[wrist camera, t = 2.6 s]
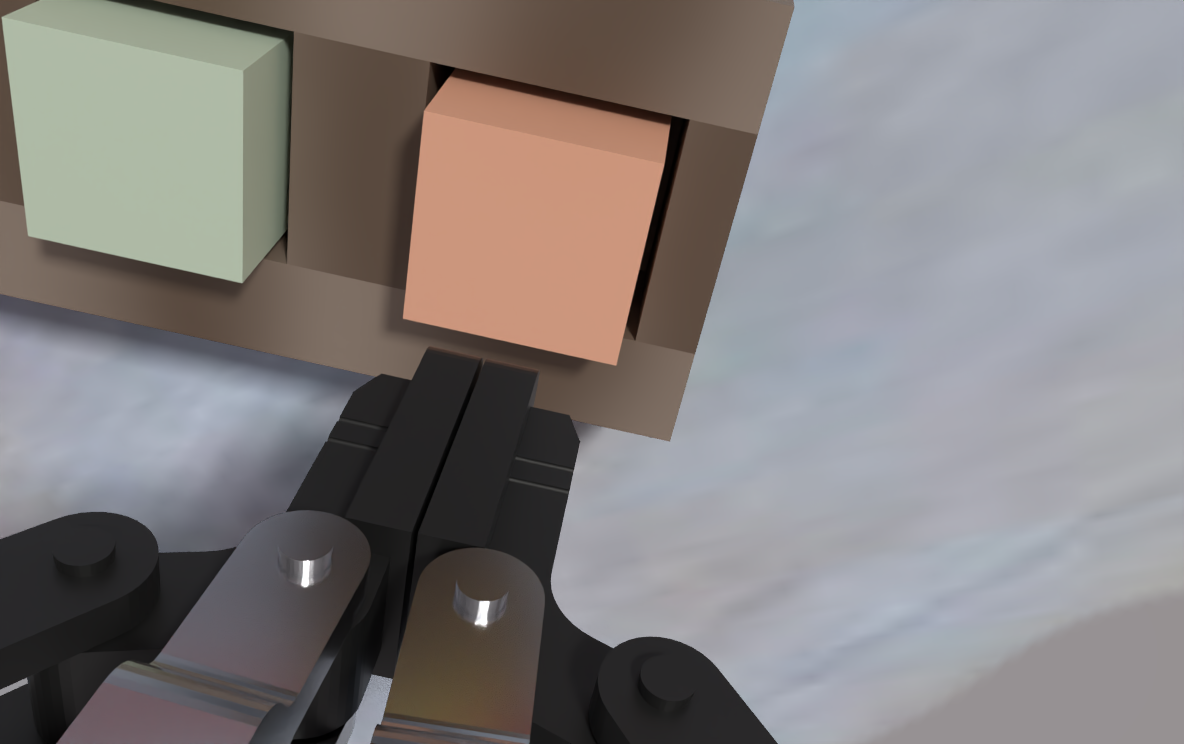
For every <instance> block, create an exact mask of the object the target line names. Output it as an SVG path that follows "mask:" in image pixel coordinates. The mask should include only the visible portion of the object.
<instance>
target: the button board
mask: <svg viewBox="0 0 1184 744" xmlns="http://www.w3.org/2000/svg"><path fill="white" fill-rule="evenodd" d="M37 1H39V0H0V294H3V295H7V296H12V297H16V298H21V299H25V300H30V301H34V302H39V303H43V304H48V305H53V306H57V307H62V308H66V309H71V310H75V311H80V312H84V313H89V314H93V315H98V316H103V317H107V318H112V319H116V320H121V321H125V322H130V323H134V324H139V325H143V326H148V327H152V328H157V329H162V330H166V331H171V332H175V333H180V334H184V335H189V336H193V337H198V338H202V339H207V340H212V341H216V342H221V343H225V344H230V345H234V346H239V347H243V348H248V349H252V350H257V351H261V352H266V353H271V354H275V355H280V356H284V357H289V358H293V359H298V360H302V361H307V362H311V363H316V364H321V365H325V366H330V367H334V368H339V369H343V370H348V371H352V372H357V373H361V374H366V375H370V376H375V377H377V376H378V375H380V374H381V373H382V374H386V375H391V376H395V377H400V378H404V379H409V380H412V378H413V376H414V374H415V372H416V370H417V368H418V366H419V364H420V362H421V359H422V357H423V355H424V353H425V351H426V349H427V348H428V347H429V346H433V347H437V348H442V349H446V350H451V351H455V352H460V353H464V354H469V355H473V356H478V357H482V358H483V365H484V362H485V360H486V359H492V360H496V361H501V362H505V363H510V364H514V365H519V366H523V367H528V368H532V369H537V370H540V373H539V380H538V385H537V391H536V396H535V401H534V406H533V407H535V408H540V409H544V410H549V411H553V412H558V413H562V414H567V415H570V418H571V420H575V421H579V422H584V423H589V424H593V425H598V426H602V427H607V428H611V429H616V430H620V431H625V432H629V433H634V434H638V435H643V436H648V437H652V438H657V439H661V440H666V441H670V439H671V436H672V432H673V429H674V425H675V422H676V418H677V415H678V411H679V408H680V404H681V401H682V397H683V394H684V390H685V387H686V383H687V380H688V376H689V373H690V369H691V366H692V362H693V359H694V355H695V352H696V348H697V345H698V341H699V338H700V334H701V331H702V327H703V324H704V320H705V317H706V313H707V310H708V306H709V303H710V300H711V296H712V293H713V289H714V286H715V282H716V279H717V275H718V272H719V268H720V265H721V261H722V258H723V254H724V251H725V247H726V244H727V240H728V237H729V233H730V230H731V226H732V223H733V219H734V216H735V212H736V209H737V205H738V202H739V198H740V195H741V191H742V188H743V184H744V181H745V177H746V174H747V170H748V167H749V163H750V160H751V156H752V153H753V149H754V146H755V142H756V139H757V135H758V132H759V128H760V125H761V121H762V118H763V115H764V111H765V108H766V104H767V101H768V97H769V94H770V90H771V87H772V83H773V80H774V76H775V73H776V69H777V66H778V62H779V59H780V55H781V52H782V48H783V45H784V41H785V38H786V34H787V31H788V27H789V24H790V20H791V17H792V13H793V10H794V2H793V0H154V1H159V2H163V3H168V4H172V5H177V6H181V7H186V8H190V9H195V10H199V11H204V12H208V13H213V14H217V15H222V16H226V17H231V18H235V19H240V20H244V21H249V22H253V23H258V24H262V25H267V26H271V27H276V28H280V29H285V30H289V31H294V49H293V82H292V116H291V149H290V182H289V216H288V229H287V230H286V232H285V233H284V234H283V235H282V236H281V238H280V239H279V240H278V241H277V242H276V244H275V245H274V246H273V247H272V248H271V250H270V251H269V252H268V253H267V254H266V256H265V257H264V258H263V259H262V260H261V262H260V263H259V264H258V265H257V266H256V268H255V269H254V270H253V271H252V272H251V274H250V275H249V276H248V277H247V278H246V280H245V281H244V282H243V283H239V282H234V281H230V280H225V279H221V278H216V277H212V276H207V275H203V274H198V273H194V272H189V271H185V270H180V269H176V268H171V267H166V266H162V265H157V264H153V263H148V262H144V261H139V260H135V259H130V258H126V257H121V256H117V255H112V254H108V253H103V252H98V251H94V250H89V249H85V248H80V247H76V246H71V245H67V244H62V243H58V242H53V241H49V240H44V239H40V238H35V237H30V236H28V231H27V223H26V214H25V206H24V198H23V190H22V181H21V173H20V165H19V157H18V148H17V140H16V132H15V124H14V115H13V107H12V99H11V91H10V82H9V74H8V66H7V58H6V49H5V41H4V33H3V25H2V17H3V16H5V15H7V14H10V13H12V12H14V11H16V10H19V9H21V8H23V7H25V6H28V5H30V4H32V3H34V2H37ZM455 68H460V69H465V70H469V71H474V72H478V73H483V74H487V75H492V76H496V77H501V78H505V79H510V80H514V81H519V82H523V83H528V84H532V85H537V86H541V87H546V88H550V89H555V90H559V91H564V92H568V93H573V94H577V95H582V96H586V97H591V98H595V99H600V100H604V101H609V102H613V103H618V104H622V105H627V106H631V107H636V108H640V109H645V110H649V111H654V112H658V113H663V114H667V115H672V117H671V124H670V130H669V137H668V144H667V150H666V157H665V164H664V168H663V172H662V176H661V181H660V185H659V189H658V193H657V197H656V201H655V206H654V210H653V214H652V218H651V222H650V227H649V231H648V235H647V239H646V243H645V247H644V252H643V256H642V260H641V264H640V268H639V273H638V277H637V281H636V285H635V289H634V293H633V298H632V302H631V306H630V310H629V314H628V319H627V323H626V327H625V331H624V335H623V339H622V344H621V348H620V352H619V356H618V360H617V365H616V366H615V365H611V364H606V363H602V362H597V361H593V360H588V359H584V358H579V357H575V356H570V355H565V354H561V353H556V352H552V351H547V350H543V349H538V348H534V347H529V346H525V345H520V344H516V343H511V342H507V341H502V340H497V339H493V338H488V337H484V336H479V335H475V334H470V333H466V332H461V331H457V330H452V329H448V328H443V327H439V326H434V325H429V324H425V323H420V322H416V321H411V320H407V319H403V312H404V302H405V293H406V283H407V273H408V263H409V253H410V243H411V234H412V224H413V214H414V204H415V194H416V184H417V175H418V165H419V155H420V145H421V135H422V125H423V116H424V110H425V109H426V107H427V106H428V105H429V103H430V102H431V101H432V99H433V98H434V97H435V95H436V94H437V93H438V91H439V90H440V89H441V87H442V86H443V85H444V83H445V82H446V80H447V79H448V78H449V76H450V75H451V74H452V72H453V71H454V70H455Z"/></svg>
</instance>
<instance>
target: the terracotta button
mask: <svg viewBox="0 0 1184 744" xmlns="http://www.w3.org/2000/svg"><path fill="white" fill-rule="evenodd" d="M671 117H672V115H667V114H663V113H658V112H654V111H649V110H645V109H640V108H636V107H631V106H627V105H622V104H618V103H613V102H609V101H604V100H600V99H595V98H591V97H586V96H582V95H577V94H573V93H568V92H564V91H559V90H555V89H550V88H546V87H541V86H537V85H532V84H528V83H523V82H519V81H514V80H510V79H505V78H501V77H496V76H492V75H487V74H483V73H478V72H474V71H469V70H465V69H460V68H455V70H454V71H453V72H452V74H451V75H450V76H449V78H448V79H447V80H446V82H445V83H444V85H443V86H442V87H441V89H440V90H439V91H438V93H437V94H436V95H435V97H434V98H433V99H432V101H431V102H430V103H429V105H428V106H427V107H426V109H425V110H424V116H423V125H422V135H421V145H420V155H419V165H418V175H417V184H416V194H415V204H414V214H413V224H412V234H411V243H410V253H409V263H408V273H407V283H406V293H405V302H404V312H403V319H407V320H411V321H416V322H420V323H425V324H429V325H434V326H439V327H443V328H448V329H452V330H457V331H461V332H466V333H470V334H475V335H479V336H484V337H488V338H493V339H497V340H502V341H507V342H511V343H516V344H520V345H525V346H529V347H534V348H538V349H543V350H547V351H552V352H556V353H561V354H565V355H570V356H575V357H579V358H584V359H588V360H593V361H597V362H602V363H606V364H611V365H615V366H616V365H617V360H618V356H619V352H620V348H621V344H622V339H623V335H624V331H625V327H626V323H627V319H628V314H629V310H630V306H631V302H632V298H633V293H634V289H635V285H636V281H637V277H638V273H639V268H640V264H641V260H642V256H643V252H644V247H645V243H646V239H647V235H648V231H649V227H650V222H651V218H652V214H653V210H654V206H655V201H656V197H657V193H658V189H659V185H660V181H661V176H662V172H663V168H664V164H665V157H666V150H667V144H668V137H669V130H670V124H671Z"/></svg>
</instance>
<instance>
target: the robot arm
mask: <svg viewBox="0 0 1184 744" xmlns="http://www.w3.org/2000/svg"><path fill="white" fill-rule="evenodd" d="M539 373H540V370H537V369H532V368H528V367H523V366H519V365H514V364H510V363H505V362H501V361H496V360H492V359H486V360H485V362H484V365H483V358H482V357H478V356H473V355H469V354H464V353H460V352H455V351H451V350H446V349H442V348H437V347H433V346H429V347H428V348H427V349H426V351H425V353H424V355H423V357H422V359H421V362H420V364H419V366H418V368H417V370H416V372H415V374H414V376H413V378H412V380H409V379H404V378H400V377H395V376H391V375H386V374H382V373H381V374H380V375H378V376H377V377H375V378H374V379H372V380H371V381H369V382H368V383H366V384H365V385H363V386H362V387H360V388H359V389H357V390H356V391H354V392H353V394H352V396H351V398H350V399H349V401H348V403H347V405H346V406H345V408H344V410H343V412H342V414H341V415H340V419H339V421H337V422H336V424H335V426H334V428H333V430H332V431H331V433H330V435H329V438H328V441H327V442H325V444H324V446H323V447H322V449H321V451H320V453H319V454H318V456H317V458H316V460H315V462H314V463H313V465H312V467H311V469H310V471H309V472H308V474H307V476H306V478H305V479H304V481H303V483H302V485H301V487H300V488H299V490H298V492H297V494H296V495H295V497H294V499H293V501H292V503H291V504H290V506H289V508H288V510H287V511H286V513H282V514H278V515H275V516H272V517H270V518H267V519H266V520H264V521H262V522H260V523H259V524H257V525H256V526H255V527H253V528H252V529H251V530H250V531H249V532H248V533H247V534H246V535H245V537H244V538H243V539H242V541H241V542H240V544H239V545H238V546H237V547H234V548H231V549H225V550H219V551H208V552H173V553H158V544H157V541H156V539H155V537H154V536H153V534H152V532H151V531H150V530H149V529H148V528H147V527H146V526H144V525H143V524H141V523H140V522H138V521H136V520H134V519H132V518H129V517H127V516H123V515H119V514H115V513H107V512H87V513H78V514H73V515H68V516H64V517H61V518H58V519H55V520H52V521H49V522H47V523H44V524H41V525H38V526H36V527H33V528H30V529H27V530H25V531H22V532H19V533H16V534H14V535H11V536H8V537H5V538H3V539H0V689H2V688H4V687H7V686H9V685H11V684H13V683H16V682H18V681H20V680H22V679H25V678H27V680H28V684H26V685H23V686H21V687H19V688H17V689H15V690H12V691H10V692H8V693H6V694H4V695H2V696H0V744H347V743H348V740H349V738H350V736H351V734H352V731H353V728H354V724H355V716H356V711H357V709H358V707H359V705H360V703H361V701H362V698H363V696H364V693H365V691H366V688H367V685H368V683H369V680H370V677H371V675H372V674H373V675H378V676H382V677H387V678H391V679H393V681H392V684H391V688H390V692H389V696H388V700H387V704H386V708H385V712H384V716H383V719H382V722H381V725H379V724H377V726H376V728H375V730H374V733H373V736H372V740H371V743H370V744H778V743H777V742H776V741H775V740H774V738H773V737H772V736H771V735H770V733H769V732H768V731H767V730H766V728H765V727H764V726H763V725H762V723H761V722H760V721H759V720H758V718H757V717H756V716H755V715H754V713H753V712H752V711H751V710H750V708H749V707H748V706H747V705H746V703H745V702H744V701H743V700H742V698H741V697H740V696H739V695H738V693H737V692H736V691H735V690H734V688H733V687H732V686H731V685H730V683H729V682H728V681H727V679H726V678H725V677H724V676H723V674H722V673H721V672H720V671H719V669H718V668H717V667H716V666H715V665H714V664H713V663H712V662H711V661H710V660H709V659H708V658H707V657H705V656H704V655H703V654H702V653H700V652H699V651H697V650H695V649H694V648H692V647H690V646H688V645H686V644H684V643H681V642H678V641H675V640H672V639H667V638H662V637H640V638H635V639H631V640H628V641H626V642H623V643H621V644H619V645H618V646H616V647H615V648H611V647H610V646H608V645H606V644H604V643H602V642H600V641H598V640H596V639H594V638H592V637H591V636H589V635H587V634H586V633H584V632H582V631H581V630H580V629H578V628H577V627H576V626H575V625H573V624H572V623H571V622H570V621H569V620H568V619H567V618H566V617H565V616H564V614H563V613H562V611H561V610H560V609H559V607H558V605H557V603H556V601H555V599H554V597H553V593H552V590H551V573H552V568H553V563H554V559H555V554H556V550H557V545H558V540H559V536H560V531H561V527H562V522H563V517H564V513H565V508H566V504H567V499H568V494H569V490H570V485H571V481H572V476H573V471H574V467H575V462H576V458H577V453H578V449H579V444H580V441H579V438H578V435H577V433H576V430H575V428H574V425H573V423H572V420H571V418H570V415H567V414H562V413H558V412H553V411H549V410H544V409H540V408H535V407H533V406H534V401H535V396H536V391H537V385H538V380H539Z"/></svg>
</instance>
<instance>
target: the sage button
mask: <svg viewBox="0 0 1184 744" xmlns="http://www.w3.org/2000/svg"><path fill="white" fill-rule="evenodd" d="M2 25H3V33H4V41H5V49H6V58H7V66H8V74H9V82H10V91H11V99H12V107H13V115H14V124H15V132H16V140H17V148H18V157H19V165H20V173H21V181H22V190H23V198H24V206H25V214H26V223H27V231H28V236H30V237H35V238H40V239H44V240H49V241H53V242H58V243H62V244H67V245H71V246H76V247H80V248H85V249H89V250H94V251H98V252H103V253H108V254H112V255H117V256H121V257H126V258H130V259H135V260H139V261H144V262H148V263H153V264H157V265H162V266H166V267H171V268H176V269H180V270H185V271H189V272H194V273H198V274H203V275H207V276H212V277H216V278H221V279H225V280H230V281H234V282H239V283H243V282H244V281H245V280H246V278H247V277H248V276H249V275H250V274H251V272H252V271H253V270H254V269H255V268H256V266H257V265H258V264H259V263H260V262H261V260H262V259H263V258H264V257H265V256H266V254H267V253H268V252H269V251H270V250H271V248H272V247H273V246H274V245H275V244H276V242H277V241H278V240H279V239H280V238H281V236H282V235H283V234H284V233H285V232H286V230H287V229H288V216H289V182H290V149H291V116H292V82H293V49H294V31H289V30H285V29H280V28H276V27H271V26H267V25H262V24H258V23H253V22H249V21H244V20H240V19H235V18H231V17H226V16H222V15H217V14H213V13H208V12H204V11H199V10H195V9H190V8H186V7H181V6H177V5H172V4H168V3H163V2H159V1H154V0H39V1H37V2H34V3H32V4H30V5H28V6H25V7H23V8H21V9H19V10H16V11H14V12H12V13H10V14H7V15H5V16H3V17H2Z"/></svg>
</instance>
